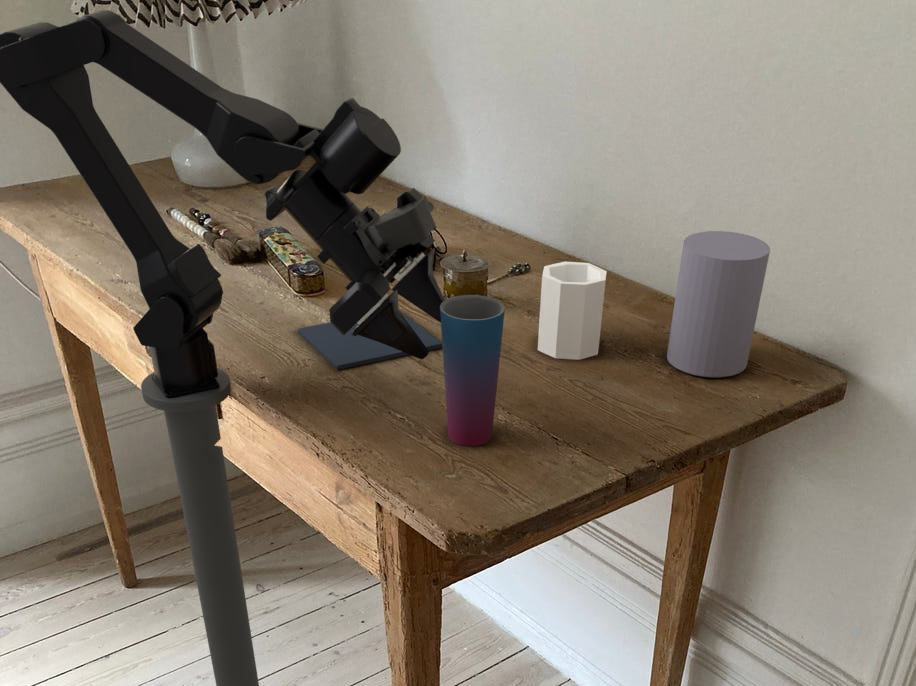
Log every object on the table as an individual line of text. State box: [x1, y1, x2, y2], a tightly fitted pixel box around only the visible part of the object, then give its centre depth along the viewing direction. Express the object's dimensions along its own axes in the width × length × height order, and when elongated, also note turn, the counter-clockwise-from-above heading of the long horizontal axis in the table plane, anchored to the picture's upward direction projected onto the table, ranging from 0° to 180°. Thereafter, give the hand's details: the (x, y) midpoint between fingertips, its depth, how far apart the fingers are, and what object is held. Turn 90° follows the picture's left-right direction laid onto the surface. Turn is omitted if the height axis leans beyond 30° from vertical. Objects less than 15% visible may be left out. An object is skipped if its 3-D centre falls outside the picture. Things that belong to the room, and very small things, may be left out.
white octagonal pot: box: [537, 261, 607, 361], centre depth 135 cm, size 12×9×10 cm
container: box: [666, 230, 771, 379], centre depth 129 cm, size 10×10×15 cm
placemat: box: [297, 309, 443, 371], centre depth 136 cm, size 15×13×1 cm
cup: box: [440, 294, 506, 447], centre depth 112 cm, size 7×7×15 cm
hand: (438, 339), depth 111 cm, fingers open, 9 cm apart
